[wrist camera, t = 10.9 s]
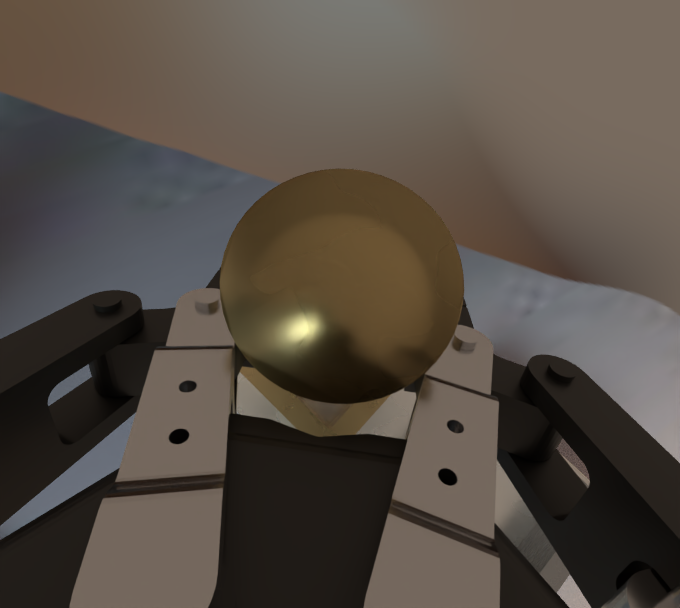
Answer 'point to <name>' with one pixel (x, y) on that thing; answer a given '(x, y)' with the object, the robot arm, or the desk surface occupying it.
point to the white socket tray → (393, 421)
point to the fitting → (341, 286)
